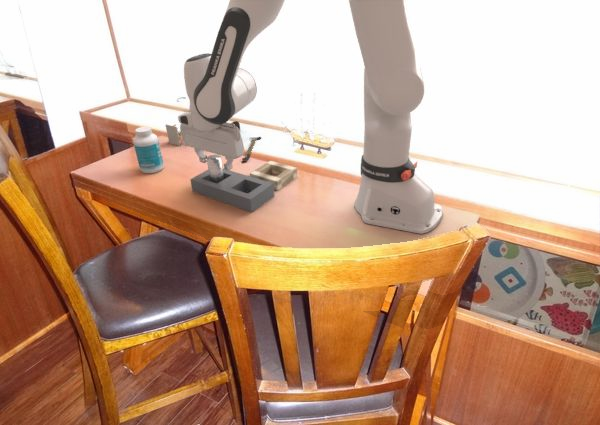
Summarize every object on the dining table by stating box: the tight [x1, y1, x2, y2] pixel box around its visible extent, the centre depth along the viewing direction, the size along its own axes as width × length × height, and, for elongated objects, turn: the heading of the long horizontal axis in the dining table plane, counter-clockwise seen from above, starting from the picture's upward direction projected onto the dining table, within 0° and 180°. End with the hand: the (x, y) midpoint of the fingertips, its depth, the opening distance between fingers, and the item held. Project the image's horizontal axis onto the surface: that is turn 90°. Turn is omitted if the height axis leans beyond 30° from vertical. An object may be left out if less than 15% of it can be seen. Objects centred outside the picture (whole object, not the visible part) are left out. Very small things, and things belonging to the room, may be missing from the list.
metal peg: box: [206, 154, 224, 184], centre depth 124 cm, size 4×4×10 cm
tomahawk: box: [241, 136, 262, 162], centre depth 150 cm, size 21×7×1 cm, turn 173°
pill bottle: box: [132, 126, 165, 174], centre depth 136 cm, size 8×7×14 cm
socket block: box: [249, 160, 298, 191], centre depth 130 cm, size 10×10×3 cm
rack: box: [189, 168, 275, 213], centre depth 123 cm, size 22×10×4 cm, turn 56°
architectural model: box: [165, 124, 182, 147], centre depth 155 cm, size 3×7×7 cm, turn 57°
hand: (216, 165), depth 123 cm, fingers open, 8 cm apart
